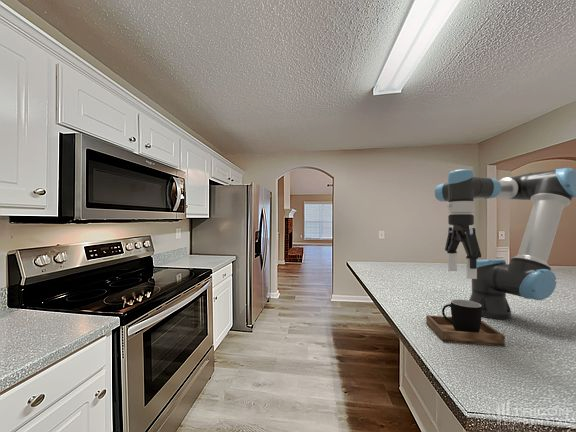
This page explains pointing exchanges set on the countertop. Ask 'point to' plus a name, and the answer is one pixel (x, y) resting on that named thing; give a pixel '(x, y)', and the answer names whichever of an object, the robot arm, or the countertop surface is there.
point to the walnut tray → (449, 334)
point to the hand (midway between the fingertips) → (461, 274)
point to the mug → (465, 315)
